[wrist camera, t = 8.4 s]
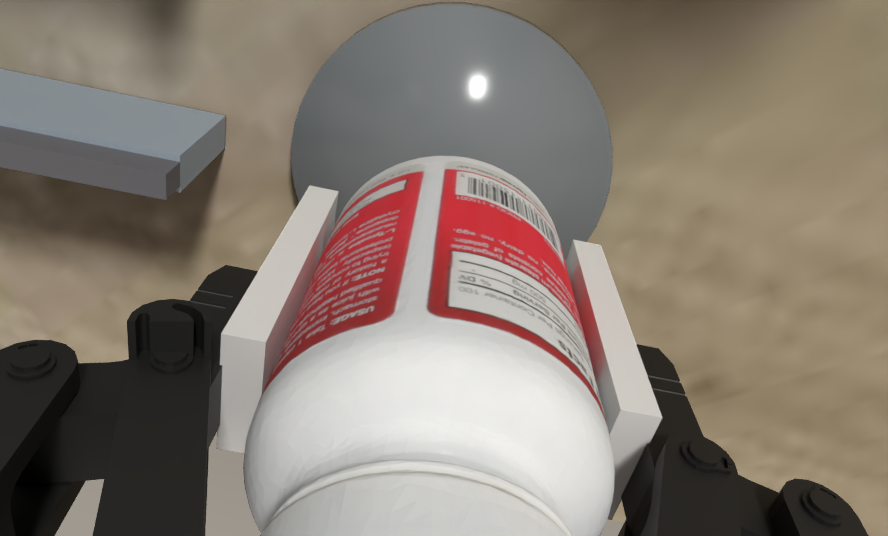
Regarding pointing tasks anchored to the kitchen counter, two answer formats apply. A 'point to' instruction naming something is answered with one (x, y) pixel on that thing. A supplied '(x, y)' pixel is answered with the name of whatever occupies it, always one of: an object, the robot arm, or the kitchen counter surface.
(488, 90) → the coaster
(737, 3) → the kitchen counter surface
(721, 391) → the kitchen counter surface
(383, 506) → the pill bottle
